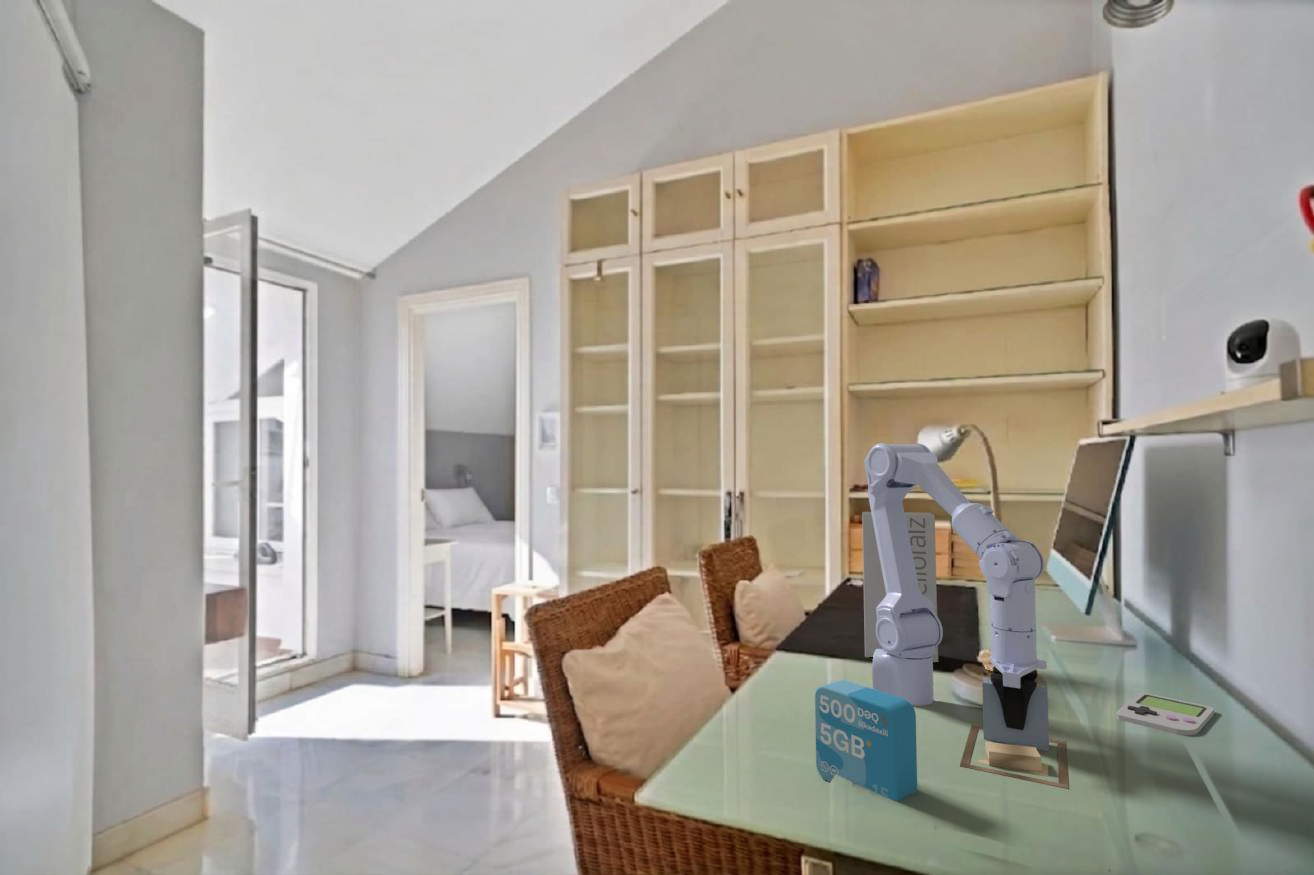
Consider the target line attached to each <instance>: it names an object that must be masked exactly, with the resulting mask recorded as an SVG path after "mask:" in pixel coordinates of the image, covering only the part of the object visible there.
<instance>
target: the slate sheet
mask: <svg viewBox="0 0 1314 875" xmlns="http://www.w3.org/2000/svg"><path fill="white" fill-rule="evenodd" d="M981 683H982V716H983V717H982V721H983V729H982V730H983V740H986V741H991V742H995V743H1001V744H1010V745H1019V746H1027V747H1036V749H1037V750H1040V751H1046V752H1050V742H1049V738H1050V733H1049V732H1050V731H1049V730H1050V729H1049V703H1048V702H1049V699H1048V697H1049V695H1048V694H1049V693H1048V686H1043V685H1037V686H1036V688H1035V690H1034V692H1033V694H1032V696H1031V698H1030V701H1029V704H1028V709H1027V715H1026V722H1025V726H1024V729H1023V730H1018V729H1012V728H1007V726H1006V724H1005V720H1004V716H1003V711H1002V707H1001V702H1000V699H999V696H998V694H997V691H996V689H995V687H994V686H993V684H992V682H991V678H989V677H983V680H982V682H981Z"/></svg>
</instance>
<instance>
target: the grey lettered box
mask: <svg viewBox="0 0 1314 875" xmlns="http://www.w3.org/2000/svg"><path fill="white" fill-rule="evenodd" d="M904 513H905V518H906V523H907V528H908V533H909V539H910V544H911V549H912V554H913V559H914V564H915V569H916V574H917V579H918V584H919V590H920V592H921V593H922V594H923V595H924V596H925V597H927V598H928V599H929V600H930V601H931V602H932V603H933V606H934V611H935V613H936V615H937V616H938V601H937V598H938V597H937V594H938V592H937V590H938V589H937V560H936V559H937V556H936V554H937V553H936V516H935V515H936V514H933V513H932V512H904ZM861 515H862V516H861V517H862V518H861V519H862V520H861V521H862V524H861V525H862V568H863V570H862V571H863V574H862V575H863V612H864V613H863V616H864V617H863V618H864V619H863V620H864V622H863V623H864V628H863V629H864V657H865V658H869V657H873V655H874V652H875V650H876V649H883V648H882V647H881V645H880V643H879V642H878V639H877V636H876V623H877V614H876V608H877V606H878V605H879V604H880V603H881V602H882V600H883V599H884V598H885V597H886V590H885V585H884V579H883V574H882V568H881V563H880V557H879V552H878V546H877V541H876V535H875V530H874V525H873V519H872V514H871V511H862V513H861ZM907 612H911V611H910V610H904V611H902V612H901V613H907ZM935 649H936V653H933V654H932V655H933V663H935V662H938V663H939V645H937V646H936V647H935Z"/></svg>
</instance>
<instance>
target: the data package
mask: <svg viewBox="0 0 1314 875" xmlns="http://www.w3.org/2000/svg"><path fill="white" fill-rule="evenodd" d="M814 707H815V709H814V710H815V712H814V714H815V715H814V719H815V721H814V722H815V723H814V724H815V726H814V730H815V765H816V766H815V767H816V770H817V772H818V775H820V777H821V778H822V779H823V780H825V781H826V780H827V782H828V783H831V782H832V781H833V779H834V777H835V776H836V775H837V776H839V777H841V778H843V779H845V780H847V781H849V782H852V783H855V784H857V785H859V786H861V787H863V788H865V789H868V790H870V791H872V792H875V793H877V794H879V795H881V796H883V797H885V798H887V799H889V800H891V801H894V802H899V801H901V800H902V799H904V798H906V797H908V796H910V795H912V794H914V793H916V792H917V791H918V757H917V756H918V755H917V747H918V746H917V714H916V710H915V708H914V706H913V705H911V703H910V702H909V701H907V700H906V699H903V698H900V697H897V696H894V695H891V694H888V693H884V692H881V691H878V690H875V689H873V687H868V686H865V685H862V684H858V683H855V682H852V681H848V680H846V679H840V680H835V681H833V682H830V683H827V684H824V685H821V686H818V688H816V690H815V693H814Z"/></svg>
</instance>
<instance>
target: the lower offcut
mask: <svg viewBox="0 0 1314 875" xmlns="http://www.w3.org/2000/svg"><path fill="white" fill-rule="evenodd" d="M977 763H980V764H983V765H988V766H990V765H989V763H988V760H987V759H978V760H977ZM1041 767H1042V772H1038V771H1030V770H1022V769H1014V768H1006V767H1002V768H1004V769H1009V770H1015V771H1019V772H1024V773H1029V774H1034V775H1039V776H1043V777H1049V764H1044V763H1041Z"/></svg>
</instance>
